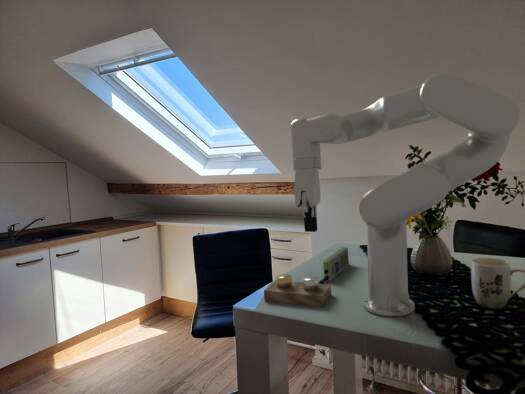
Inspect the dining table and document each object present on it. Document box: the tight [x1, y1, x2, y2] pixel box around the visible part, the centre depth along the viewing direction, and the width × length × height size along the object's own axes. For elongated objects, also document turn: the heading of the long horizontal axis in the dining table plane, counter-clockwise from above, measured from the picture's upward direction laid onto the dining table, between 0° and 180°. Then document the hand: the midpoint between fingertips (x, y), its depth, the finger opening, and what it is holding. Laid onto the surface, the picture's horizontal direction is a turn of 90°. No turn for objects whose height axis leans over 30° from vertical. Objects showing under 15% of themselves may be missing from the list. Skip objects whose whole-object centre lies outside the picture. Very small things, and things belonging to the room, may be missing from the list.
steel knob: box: [302, 275, 320, 291], centre depth 103 cm, size 4×4×6 cm
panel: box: [263, 280, 332, 308], centre depth 105 cm, size 17×9×3 cm, turn 66°
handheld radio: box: [319, 247, 350, 284], centre depth 123 cm, size 7×3×25 cm
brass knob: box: [275, 273, 293, 288], centre depth 106 cm, size 4×4×6 cm
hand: (311, 231), depth 102 cm, fingers closed
